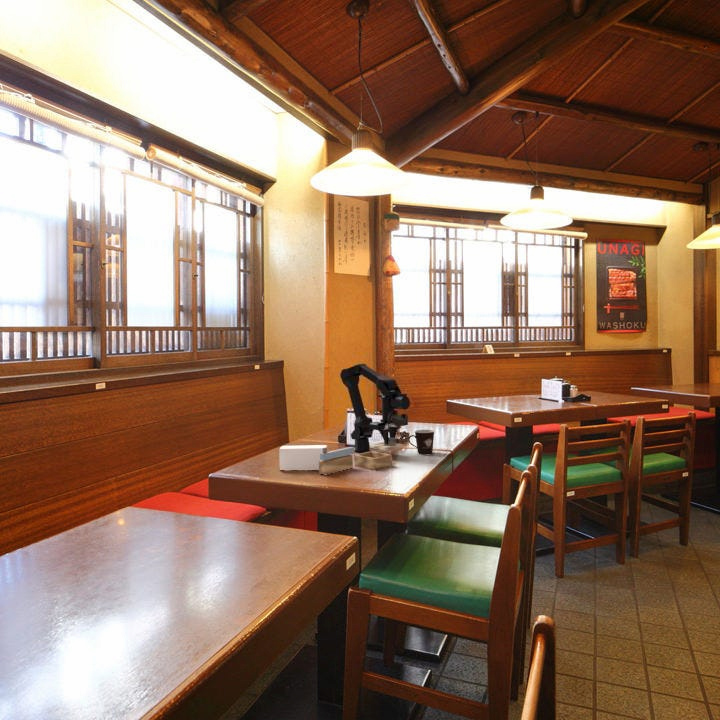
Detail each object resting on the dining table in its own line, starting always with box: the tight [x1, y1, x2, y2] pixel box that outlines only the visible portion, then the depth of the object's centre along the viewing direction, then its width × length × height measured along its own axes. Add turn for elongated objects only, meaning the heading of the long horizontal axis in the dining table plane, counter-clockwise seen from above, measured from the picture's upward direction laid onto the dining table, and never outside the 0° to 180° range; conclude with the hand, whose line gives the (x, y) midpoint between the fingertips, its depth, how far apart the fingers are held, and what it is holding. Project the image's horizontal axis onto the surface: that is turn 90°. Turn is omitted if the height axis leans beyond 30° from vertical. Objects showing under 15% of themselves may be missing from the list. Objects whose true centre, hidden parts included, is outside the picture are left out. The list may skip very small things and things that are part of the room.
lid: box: [369, 436, 405, 452], centre depth 244 cm, size 12×10×5 cm
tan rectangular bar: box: [318, 454, 354, 476], centre depth 220 cm, size 3×15×5 cm, turn 133°
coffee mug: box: [407, 429, 435, 455], centre depth 248 cm, size 12×9×10 cm
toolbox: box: [353, 450, 393, 471], centre depth 227 cm, size 12×10×4 cm
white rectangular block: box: [278, 444, 328, 470], centre depth 225 cm, size 20×6×9 cm, turn 84°
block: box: [320, 446, 355, 460], centre depth 220 cm, size 2×16×4 cm, turn 133°
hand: (389, 443), depth 243 cm, fingers closed on lid, 3 cm apart
